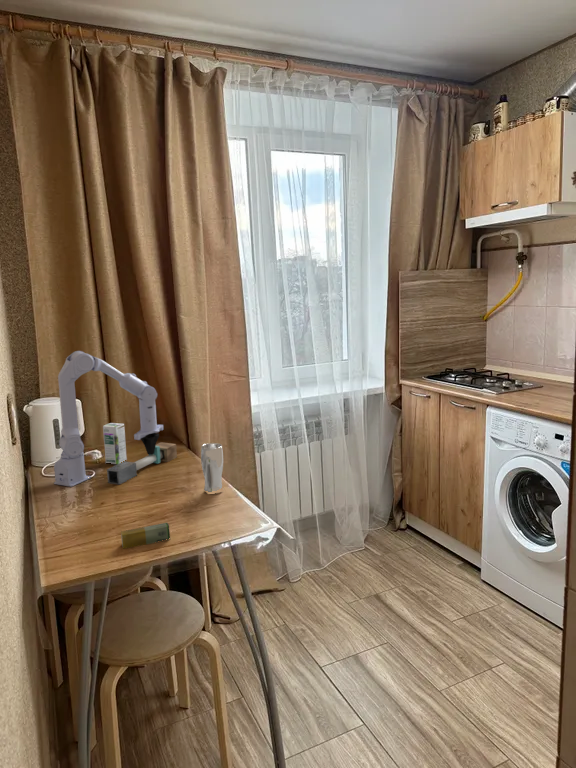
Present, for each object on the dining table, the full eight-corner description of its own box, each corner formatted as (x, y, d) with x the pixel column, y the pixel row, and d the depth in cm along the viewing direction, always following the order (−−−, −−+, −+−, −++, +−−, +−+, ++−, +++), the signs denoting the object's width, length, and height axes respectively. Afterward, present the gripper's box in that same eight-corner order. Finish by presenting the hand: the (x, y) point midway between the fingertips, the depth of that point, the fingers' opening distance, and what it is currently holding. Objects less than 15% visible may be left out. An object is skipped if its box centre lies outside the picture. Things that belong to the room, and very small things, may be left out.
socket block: (167, 461, 205) (166, 448, 204) (152, 459, 208) (151, 446, 207) (176, 457, 210) (176, 444, 209) (161, 455, 213) (160, 442, 212)
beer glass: (198, 494, 173) (196, 448, 170) (208, 486, 179) (206, 442, 177) (219, 496, 171) (217, 449, 168) (228, 488, 177) (226, 443, 175)
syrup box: (105, 463, 204) (101, 425, 202) (114, 458, 210) (111, 422, 207) (118, 464, 203) (115, 426, 200) (127, 460, 208) (124, 422, 206)
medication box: (168, 536, 145) (167, 521, 144) (170, 540, 142) (169, 525, 142) (121, 545, 140) (120, 530, 140) (122, 549, 138) (121, 534, 137)
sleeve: (119, 484, 182) (118, 470, 182) (108, 482, 184) (106, 469, 183) (136, 475, 190) (135, 462, 190) (125, 474, 192) (124, 461, 192)
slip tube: (132, 476, 189) (130, 459, 188) (122, 475, 190) (121, 458, 189) (165, 459, 206) (164, 443, 205) (157, 458, 208) (155, 442, 207)
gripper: (144, 423, 190) (147, 460, 193) (169, 414, 203) (171, 449, 206) (128, 421, 193) (131, 458, 196) (153, 412, 206) (156, 447, 209)
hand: (150, 453), depth 201 cm, fingers closed
